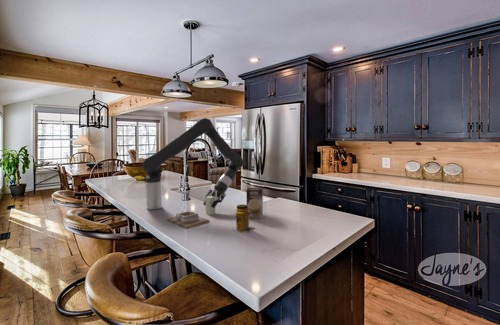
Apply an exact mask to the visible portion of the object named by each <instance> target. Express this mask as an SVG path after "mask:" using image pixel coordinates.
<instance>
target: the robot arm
mask: <svg viewBox="0 0 500 325" xmlns="http://www.w3.org/2000/svg"><path fill="white" fill-rule="evenodd" d="M204 134H205V135H206V136H207V137H208V138H209V139H210V140H211V142H212V143H213V145H215V148H217V150H218V151H219V152H220V154H221V155H222V156H223V157H224V158H225V159H227V160H229V161H230V162H229V165H228V166H227V168H226V169H225V171H224V172H223V173H222V174H221V176H220V177H219V179H218V180H217V181H216V184H214V189H213V190H212V189H209V190H208V192H207V193H206V194H205V196H204V197H208V196H213V197H215V201H214V202H213V204H212V205H211V207H213V208H215V209H216V206H217V205H218V204H219V203H220V204H221V203H222V202H223V200H224V199H225V197H226V196H227V194H226V193H225V192H227V190H228V189H229V187H230V186H231V183H232V181H234V179H235V177H236V174H237V173H238V171H239V169H241V168H242V167H243V166H244V160H243V158H242V157H241V156H240V155H239V154H238V153H237V152H235V151H234V150H233V148H232V147H231V146H230V145H229V144H228V142H227V141H225V140H224V138H223V137H222V136H221V135H220V133H219V132H218V131H217V129H216V127H215V126H214V124H213V122H212V121H211V120H210V119H209V118H208V117H207V118H206V117H202V118H200V119H199V120H197V121H196V122H195V123H194V124H192V126H190V128H188V129H187V130H185V131H184V132H182V133H180V134H179V135H178V136H176V137H174V138H173V139H172V140H170V142H168V143H167V144H165V145H164V146H163V147H162V148H161V149H159V150H158V151H157V152H155V153H154V154H152V155H151V156H150V155H149V157H146V158H145V159H144V160H143V162H142V168H143V169H144V171H146V176H145V196H146V197H145V198H146V209H147V210H158V209H161V208H162V207H163V204H162V201H163V200H162V199H163V198H162V183H161V182H162V180H161V178H162V164H163V163H165V162H166V161H167V160H171V158H174V157H176V156H178V155H179V154H181V153H182V152H183V151H185V150H187V148H188V147H190V145H191V144H193V142H194V141H195V140H196V139H198V138H199V137H201V136H202V135H204ZM203 205H204V206H205V207H206V199H205V200H204V201H203Z"/></svg>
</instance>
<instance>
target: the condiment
mask: <svg viewBox="0 0 500 325" xmlns="http://www.w3.org/2000/svg"><path fill="white" fill-rule="evenodd" d="M235 220H236V222H235V223H236V225H235V226H236V228H234V229H233V231H236V232H238V233H243V234H245V233H247V232H249V231H253V229H255V227H252V226H250V225H249V224H250V223H249V222H250V221H249V220H250V218H249V212H248V206H247V204H238V205H236V212H235Z"/></svg>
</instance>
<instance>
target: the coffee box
mask: <svg viewBox="0 0 500 325" xmlns="http://www.w3.org/2000/svg"><path fill="white" fill-rule="evenodd" d="M263 190H264V189H263V187H247V188H246V205H247V206H248V212H249V219H263V216H264V215H263V214H264V212H263V211H264V204H263V203H264V199H263V198H264V194H263V193H264V191H263Z"/></svg>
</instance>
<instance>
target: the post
mask: <svg viewBox="0 0 500 325" xmlns="http://www.w3.org/2000/svg"><path fill="white" fill-rule="evenodd" d="M204 197H205V196H204ZM205 200H206V206H205V214H206V215H209V216H211V215H215V214H216V207H215V208H213V207H211V205H212V204H213V202H214V201H215V197H213V196H212V195H211V196H209V195H208V197H205Z"/></svg>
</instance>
